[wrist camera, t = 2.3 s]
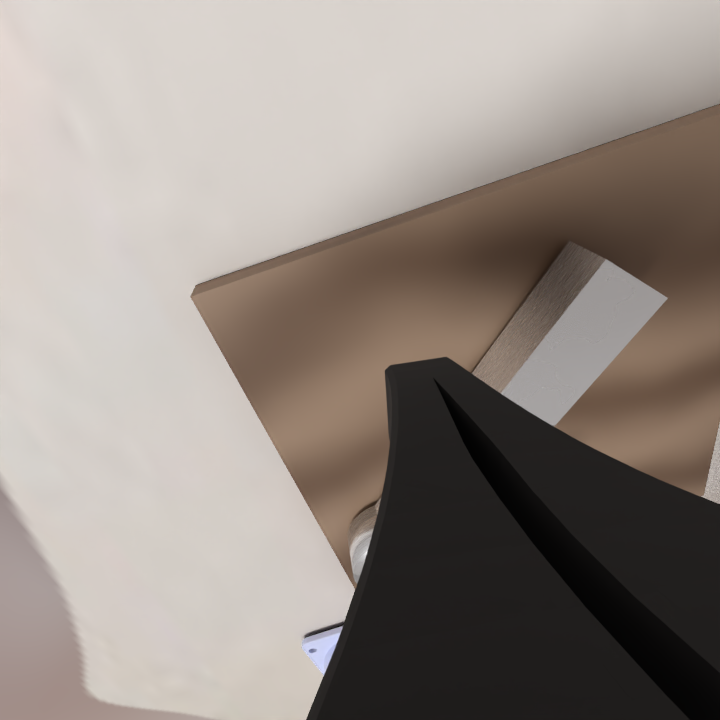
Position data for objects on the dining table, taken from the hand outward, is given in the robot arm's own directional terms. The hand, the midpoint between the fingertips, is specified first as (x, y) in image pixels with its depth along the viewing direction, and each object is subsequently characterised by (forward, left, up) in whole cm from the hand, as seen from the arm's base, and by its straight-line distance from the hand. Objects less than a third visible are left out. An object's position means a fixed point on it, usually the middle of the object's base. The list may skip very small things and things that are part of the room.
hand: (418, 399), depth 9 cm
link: (-8, -2, -6) cm, 10 cm away
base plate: (-8, -4, -8) cm, 12 cm away
